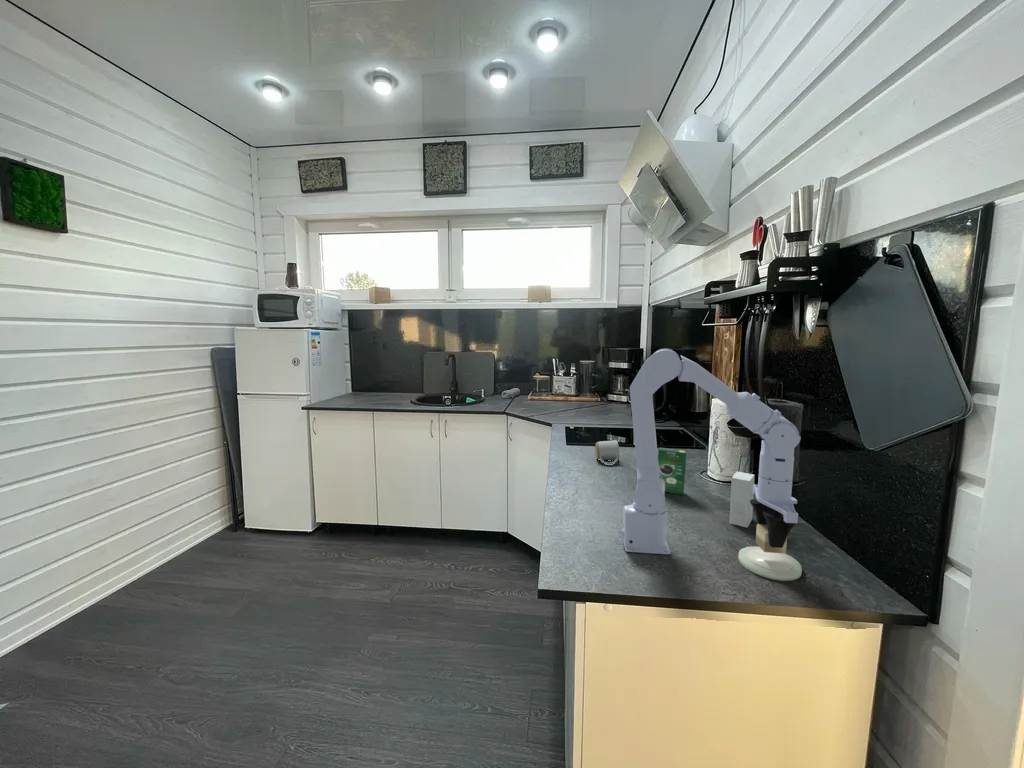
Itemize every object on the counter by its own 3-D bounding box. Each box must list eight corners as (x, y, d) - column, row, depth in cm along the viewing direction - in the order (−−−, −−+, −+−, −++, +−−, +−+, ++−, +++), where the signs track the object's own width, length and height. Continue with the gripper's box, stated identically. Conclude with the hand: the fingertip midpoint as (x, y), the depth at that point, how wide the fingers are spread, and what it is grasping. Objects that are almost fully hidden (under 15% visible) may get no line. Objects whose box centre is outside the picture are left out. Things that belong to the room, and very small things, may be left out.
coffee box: (685, 492, 123) (687, 449, 121) (684, 495, 120) (686, 452, 119) (656, 488, 126) (658, 446, 125) (655, 491, 124) (657, 449, 122)
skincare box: (733, 515, 107) (736, 470, 106) (752, 519, 105) (755, 474, 103) (728, 523, 103) (731, 477, 101) (747, 528, 100) (750, 481, 99)
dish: (751, 578, 80) (751, 572, 80) (730, 549, 91) (730, 544, 91) (813, 583, 78) (814, 577, 78) (784, 552, 89) (784, 547, 89)
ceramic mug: (594, 457, 158) (594, 437, 157) (615, 457, 158) (616, 438, 157) (598, 466, 148) (598, 445, 147) (621, 466, 147) (622, 446, 146)
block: (764, 552, 82) (765, 533, 82) (755, 542, 86) (756, 524, 86) (785, 553, 82) (787, 534, 81) (776, 543, 86) (777, 525, 85)
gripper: (818, 491, 74) (812, 561, 76) (779, 465, 89) (774, 525, 90) (776, 489, 75) (771, 559, 77) (744, 464, 90) (740, 523, 91)
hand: (770, 541), depth 84 cm, fingers closed on block, 4 cm apart
